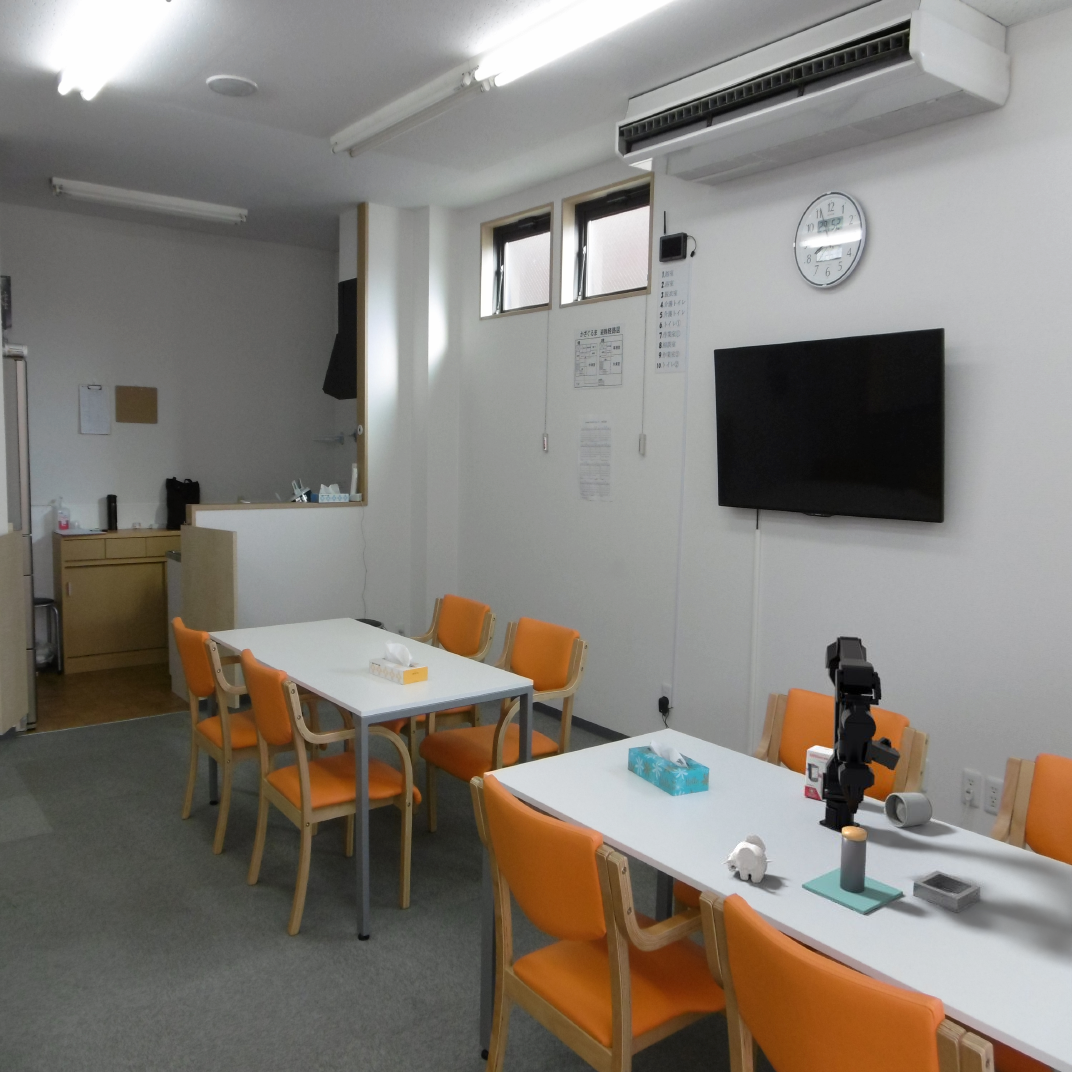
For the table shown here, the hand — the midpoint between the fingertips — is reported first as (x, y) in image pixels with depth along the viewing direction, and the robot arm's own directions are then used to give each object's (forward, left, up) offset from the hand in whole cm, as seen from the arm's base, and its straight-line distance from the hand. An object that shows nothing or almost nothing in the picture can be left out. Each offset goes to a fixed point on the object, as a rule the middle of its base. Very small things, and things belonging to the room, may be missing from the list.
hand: (851, 805), depth 180 cm
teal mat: (+8, +6, -13) cm, 16 cm away
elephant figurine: (+19, -10, -13) cm, 25 cm away
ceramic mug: (-32, -7, -13) cm, 35 cm away
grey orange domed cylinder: (+8, +6, -12) cm, 16 cm away
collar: (-4, +18, -13) cm, 23 cm away
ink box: (-30, -26, -13) cm, 42 cm away
